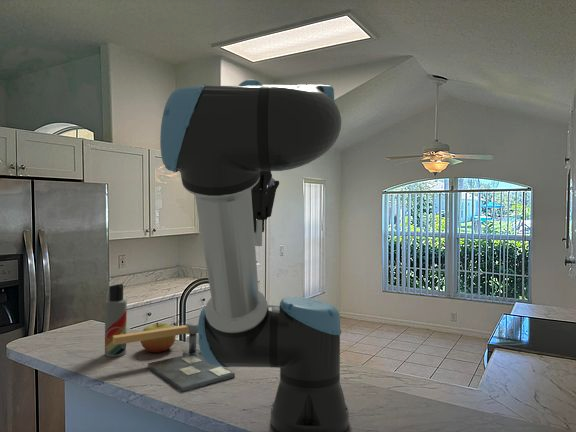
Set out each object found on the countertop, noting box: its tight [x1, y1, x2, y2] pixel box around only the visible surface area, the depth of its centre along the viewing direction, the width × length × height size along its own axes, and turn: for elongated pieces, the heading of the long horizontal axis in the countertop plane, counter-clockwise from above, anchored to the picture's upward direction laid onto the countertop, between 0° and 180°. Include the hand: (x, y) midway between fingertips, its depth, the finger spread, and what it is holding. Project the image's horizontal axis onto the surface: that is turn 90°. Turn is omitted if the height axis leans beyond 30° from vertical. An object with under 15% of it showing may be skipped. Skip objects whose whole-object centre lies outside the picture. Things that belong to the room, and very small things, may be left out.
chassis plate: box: [147, 353, 236, 393], centre depth 107 cm, size 20×14×1 cm
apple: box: [140, 322, 177, 353], centre depth 124 cm, size 10×10×8 cm
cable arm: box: [113, 322, 198, 345], centre depth 115 cm, size 24×4×2 cm, turn 125°
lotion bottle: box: [104, 283, 128, 358], centre depth 120 cm, size 6×6×20 cm
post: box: [182, 333, 202, 355], centre depth 120 cm, size 4×4×6 cm
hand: (256, 245), depth 105 cm, fingers closed
